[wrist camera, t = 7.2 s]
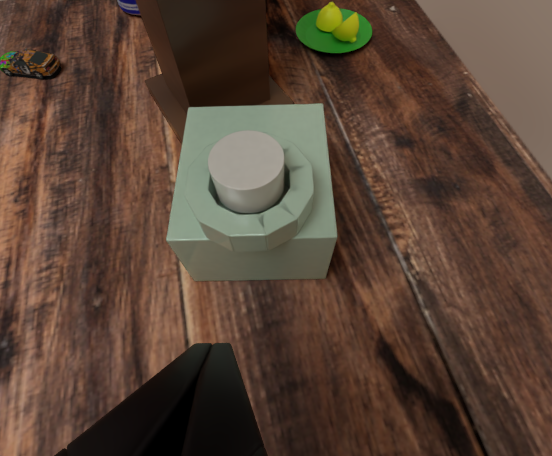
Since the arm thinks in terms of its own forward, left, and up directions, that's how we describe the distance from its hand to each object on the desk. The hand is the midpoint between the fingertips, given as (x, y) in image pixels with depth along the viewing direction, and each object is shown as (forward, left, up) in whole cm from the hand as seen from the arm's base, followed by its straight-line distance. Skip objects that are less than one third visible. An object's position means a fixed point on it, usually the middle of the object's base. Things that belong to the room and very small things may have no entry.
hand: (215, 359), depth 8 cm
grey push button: (+8, -5, -6) cm, 11 cm away
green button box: (+10, -6, -13) cm, 18 cm away
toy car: (+38, +5, -14) cm, 41 cm away
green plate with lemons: (+26, -24, -14) cm, 38 cm away
